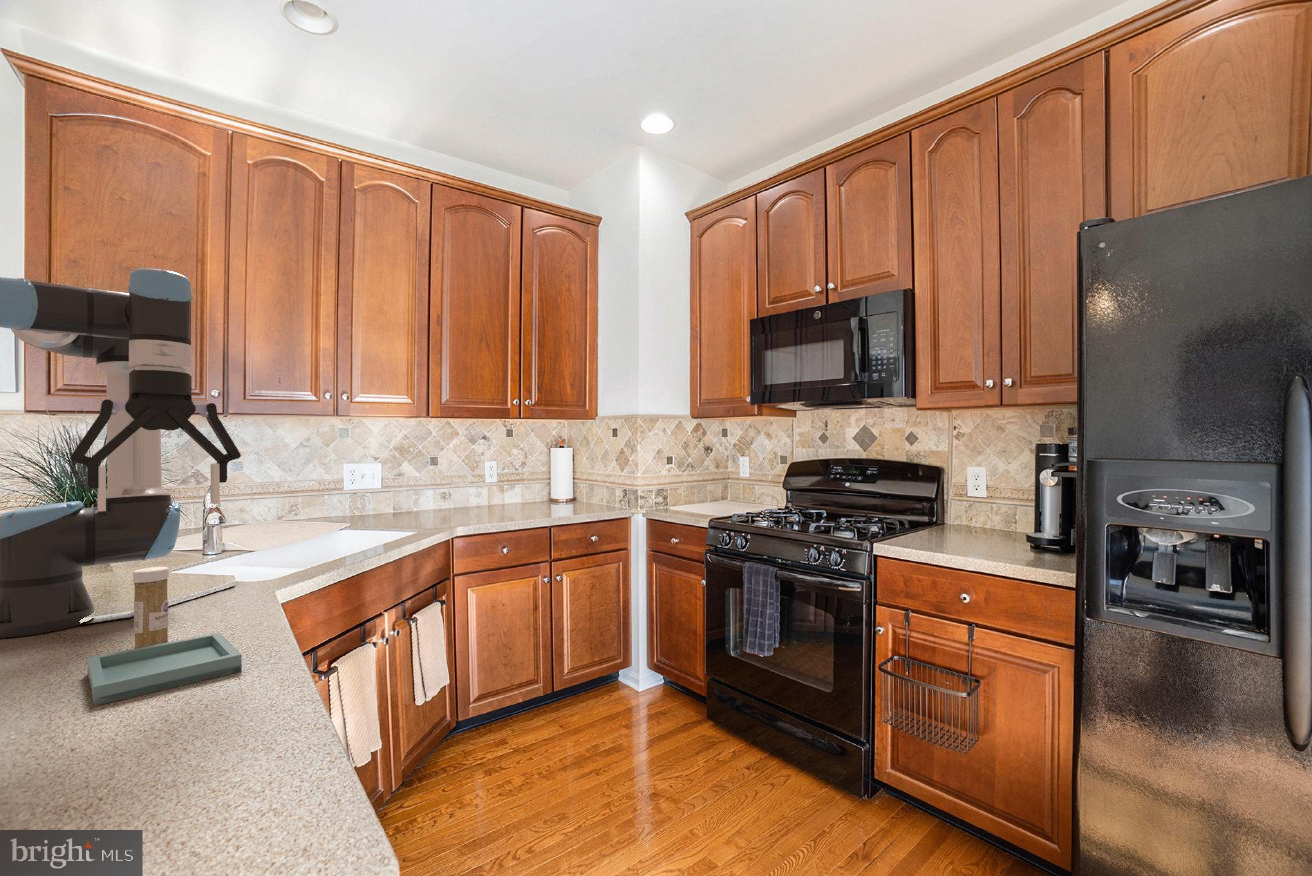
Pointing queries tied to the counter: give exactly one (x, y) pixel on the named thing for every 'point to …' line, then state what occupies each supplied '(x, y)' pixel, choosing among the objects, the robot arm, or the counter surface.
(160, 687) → the tray
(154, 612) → the sprinkles bottle
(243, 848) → the counter surface
